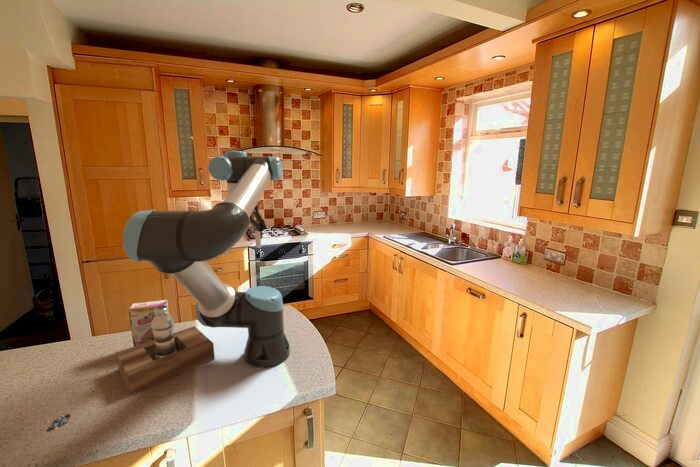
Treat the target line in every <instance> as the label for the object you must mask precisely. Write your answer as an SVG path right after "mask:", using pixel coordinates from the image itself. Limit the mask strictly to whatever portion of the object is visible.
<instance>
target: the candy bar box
mask: <svg viewBox="0 0 700 467" xmlns="http://www.w3.org/2000/svg"><path fill="white" fill-rule="evenodd" d="M160 305H166V306H167V309H168V314H169V315H170V312H169V302H168V299H161V300H154V301H146V302H145V301H144V302H134V303H131V304H130V306H129V307H128V315H129V322H130V329H131V337H132V344H133V347H134V346H137V345H140V344H143V343H146V342H149V341H152V340H155V339H154V334H153V331H152V328H151V323H152V320H153V319H154V317H155V315H154V308H155V307H157V306H160Z"/></svg>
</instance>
